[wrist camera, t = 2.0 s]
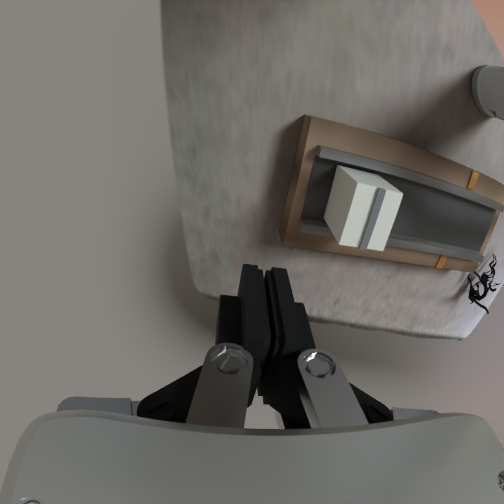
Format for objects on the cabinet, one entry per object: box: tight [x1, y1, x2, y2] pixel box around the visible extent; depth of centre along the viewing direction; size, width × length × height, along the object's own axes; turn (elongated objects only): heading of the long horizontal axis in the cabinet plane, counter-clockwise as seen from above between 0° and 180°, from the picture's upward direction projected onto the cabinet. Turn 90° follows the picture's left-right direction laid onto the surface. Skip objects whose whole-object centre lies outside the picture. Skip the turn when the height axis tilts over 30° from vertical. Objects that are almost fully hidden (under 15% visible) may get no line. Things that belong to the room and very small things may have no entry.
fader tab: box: [324, 165, 403, 251], centre depth 24 cm, size 5×4×5 cm
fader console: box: [279, 115, 504, 273], centre depth 28 cm, size 12×26×4 cm, turn 81°
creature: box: [467, 254, 499, 313], centre depth 33 cm, size 8×5×8 cm
